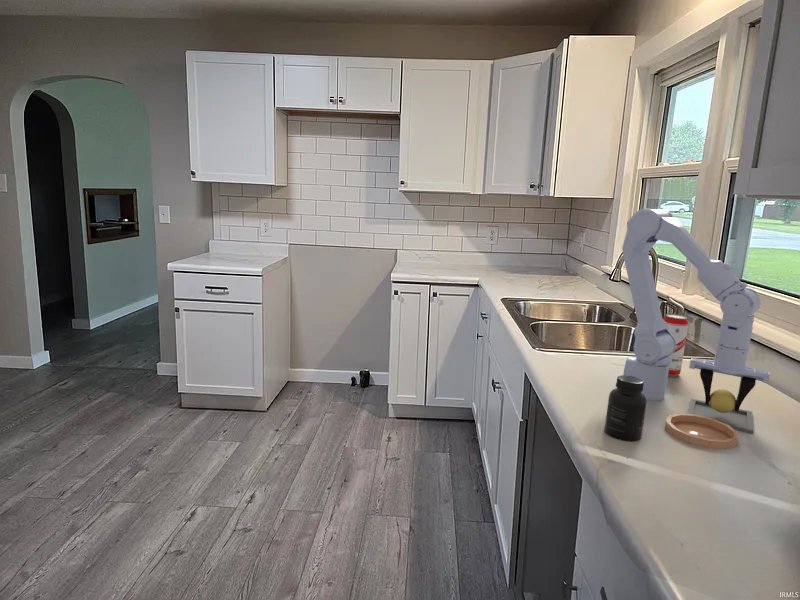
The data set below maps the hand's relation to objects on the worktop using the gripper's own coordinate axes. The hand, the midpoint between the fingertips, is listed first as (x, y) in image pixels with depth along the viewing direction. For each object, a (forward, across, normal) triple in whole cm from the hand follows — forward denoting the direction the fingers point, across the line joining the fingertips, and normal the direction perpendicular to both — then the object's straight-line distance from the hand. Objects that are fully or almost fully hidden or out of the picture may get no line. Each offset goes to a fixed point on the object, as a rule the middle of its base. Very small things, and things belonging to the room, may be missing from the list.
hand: (721, 406), depth 118 cm
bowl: (+3, -3, -13) cm, 14 cm away
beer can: (+3, -13, +27) cm, 30 cm away
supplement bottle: (+3, -16, -23) cm, 28 cm away
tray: (+3, 0, 0) cm, 3 cm away
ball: (+1, 0, 0) cm, 1 cm away
